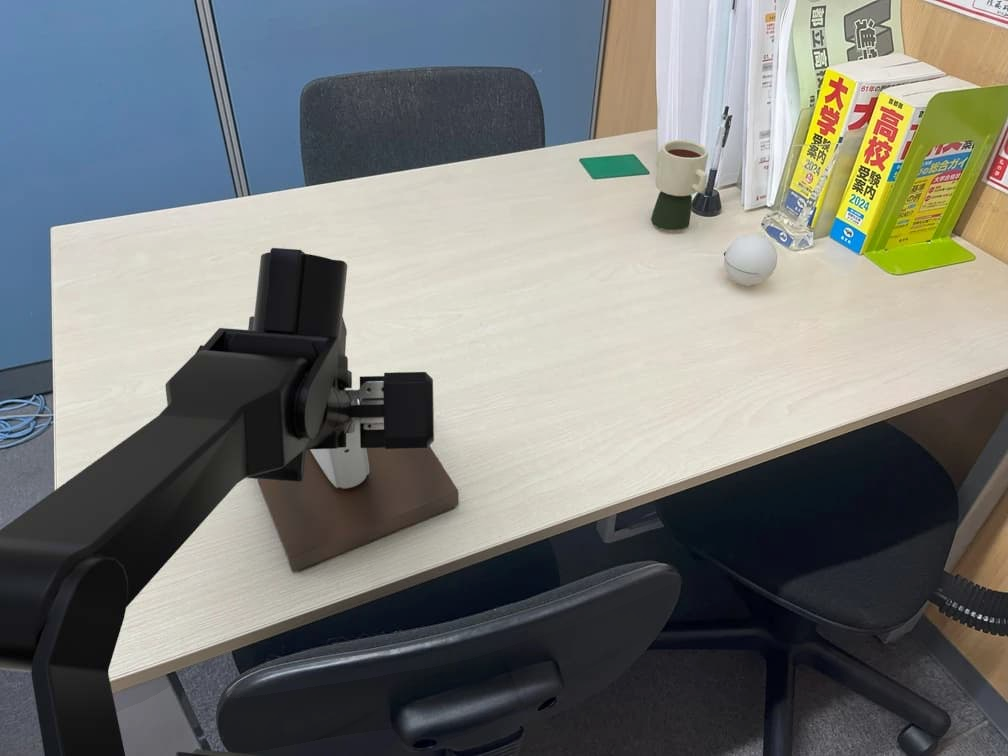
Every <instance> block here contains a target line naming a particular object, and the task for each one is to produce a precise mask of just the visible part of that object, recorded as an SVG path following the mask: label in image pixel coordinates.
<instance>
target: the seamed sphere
mask: <svg viewBox="0 0 1008 756" xmlns="http://www.w3.org/2000/svg"><path fill="white" fill-rule="evenodd" d="M723 256H724V257H723V258H724V259H723V260H724V261H723V266H724V267H722V268H720V269H719V271H721V270H722V269H725V272H726V274H727V275H728V276H729V277H730V278H731V280H732V281H733V282H735V283H736V284H740V285H742V286H749V287H750V286H756V285H759V284H762V283H764V282H766V280H767V279H769V278H771V276H772V275H773V274H774V272H775V270H776V268H777V264H778V253H777V249H776V247H775V245H774V244H773V243H772V242H771V240H770V239H769V238H766V237H765V236H762V235H760V234H756V233H755V234H754V233H753V234H752V233H748V234H744V235H742V236H740V237H737V238H736V239H735V240H733V241H732V242H731V243H730V244H729V245H728V246H727V248H726V250H725V251H724V252H723Z"/></svg>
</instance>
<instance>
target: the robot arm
mask: <svg viewBox="0 0 1008 756" xmlns="http://www.w3.org/2000/svg"><path fill="white" fill-rule="evenodd" d="M347 274H348V264H347V262H346V261H344V260H340V259H333V258H328V257H325V256H320V255H315V254H310V253H305V252H304V250H302V249H296V248H295V249H294V248H280V247H271V248H270V251H269V252H265V253H262V254H261V255H260V261H259V270H258V279H257V286H256V287H257V289H256V290H257V291H256V296H255V297H256V298H255V306H254V315H252V316H250V317H249V318H248V319H249V320H248V327H247V329H241V328H226V327H219V328H217V330H216V331H215V332H214V333H213V335H211V337H210V338H209V339H208V340H207V341H206V342H205V343H204V344H202V345H201V344H200V345H199V347H198V348H197V349H196V352H195V353H194V354H193V355H192V356H191V357H190V358H189V359H188V360H187V361H186V362H185V363H184V364H183V365H182V366H181V367H180V368H179V370H177V371H176V372H175V373H174V374H173V376H171V377H170V378H169V380H168V381H166V383H165V386H164V387H165V396H166V404H167V405H166V407H165V408H163V410H162V411H161V412H160V413H159V415H157V416H155V418H153V419H152V420H150V421H149V422H147V423H146V424H145V425H143V426H142V427H140V428H139V429H138V430H136V431H135V432H134V433H132V434H131V435H130V436H128V437H127V438H125V439H124V440H122V441H121V442H120V443H119V444H116V446H114V447H113V448H112V449H110V450H108V451H107V452H106V453H105V454H103V455H101V456H100V457H99V458H98V459H96V460H95V461H94V462H92V463H91V464H89V465H88V466H86V467H85V468H84V469H82V470H81V471H80V472H78V473H77V474H75V475H73V477H71V478H70V479H68V480H67V481H66V482H65V483H63V484H62V485H60V486H59V487H58V488H56V489H54V490H53V491H52V492H51V493H49V494H48V495H46V496H45V497H43V498H42V499H41V500H40V501H38V502H37V503H35V504H33V505H32V506H31V507H30V508H29V509H27V510H25V511H24V512H23V513H22V514H20V515H19V516H17V517H16V518H14V519H13V520H12V521H10V522H9V523H8V524H6V525H5V526H4V527H2V528H1V529H0V670H1V671H11V672H12V671H13V672H22V673H30V675H31V681H32V687H33V692H34V699H35V705H36V706H35V707H36V711H37V719H38V724H39V729H40V736H41V743H42V749H43V754H44V756H126V752H125V747H124V742H123V738H122V733H121V728H120V727H121V726H120V722H119V717H118V714H117V709H116V703H115V700H114V694H113V689H112V685H111V680H110V679H111V678H110V675H109V669H110V666H111V662H112V659H113V657H114V653H115V649H116V646H117V643H118V640H119V636H120V632H121V630H122V626H123V623H124V621H125V616H126V611H127V608H128V606H129V605H131V603H132V602H133V601H134V599H136V598H137V596H139V594H140V593H141V592H142V591H143V590H144V588H145V587H146V586H147V585H148V584H149V583H150V582H151V581H152V579H153V578H154V577H155V576H156V575H157V574H158V573H159V572H160V571H161V570H162V568H163V567H164V566H165V565H166V564H167V563H168V562H169V560H171V558H172V557H173V556H174V555H175V554H176V553H177V552H178V550H179V549H180V548H181V547H182V546H183V545H184V544H185V543H186V541H187V540H188V539H189V538H190V537H191V536H192V535H193V534H194V533H195V531H196V530H197V529H198V528H199V527H200V526H201V525H202V524H203V523H204V521H205V520H206V519H207V518H208V516H209V515H211V514H212V512H213V511H214V510H215V509H216V508H217V507H218V506H219V504H221V502H223V500H224V499H225V498H226V497H227V495H228V494H229V493H230V492H231V491H233V489H234V488H235V487H236V485H237V484H239V483H241V482H242V481H243V480H244V479H253V480H257V479H265V480H278V481H292V482H301V481H302V480H303V475H304V465H305V455H306V449H337V448H344V447H346V433H353V432H354V430H355V424H354V422H353V421H351V418H359V423H360V448H384V447H385V449H402V448H427V447H428V446H431V445H432V444H433V443H434V441H435V414H434V413H435V412H434V411H435V410H434V406H435V405H434V379H433V377H432V376H431V375H429V373H428V372H427V371H404V372H400V371H399V372H397V371H396V372H383V375H370V376H369V375H367V376H366V375H365V376H359V388H358V389H353V381H352V380H353V371H351V370H349V358H348V356H347V355H346V347H347V345H346V344H347V333H348V332H347V330H348V329H347V326H346V323H345V320H344V305H345V296H346V295H345V294H346V283H347ZM346 388H352V389H353V390H346ZM353 399H354V402H357V400H358V404H359V405H351V403H352V400H353ZM350 422H351V424H350ZM175 756H264V755H262V754H254V753H253V754H252V753H242V752H231V751H222V750H211V749H202V748H196V749H195V750H193V752H187V751H186V752H185V751H177V752H175Z"/></svg>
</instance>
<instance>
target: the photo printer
mask: <svg viewBox="0 0 1008 756" xmlns="http://www.w3.org/2000/svg"><path fill="white" fill-rule="evenodd" d="M346 390H354V389H353V387H352V388H346ZM351 405H359V399H358V400H357V402H354V399H353V400H352V403H351ZM351 421H353V422H354V424H355V430H354V432H353V433H346V447H344V448H337V449H310V451H311V452H312V454H313V456H314V457H315V459H316V461H317V462H318V464H319V465H320V467H321V468H322V470H323V471H324V473H325V475H326V476H327V477H328V479H329V480H330V481H331V483H332V484H333V485H334V486H335V487H336V488H339V487H341V488H351V487H354V486H357V485H359V484H360V483H361V482H363V481H364V480H365V478H366V475H368V474H369V463H368V456H367V450H366V448H360V423H359V418H351ZM350 424H351V422H350Z"/></svg>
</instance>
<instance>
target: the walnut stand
mask: <svg viewBox="0 0 1008 756" xmlns="http://www.w3.org/2000/svg"><path fill="white" fill-rule="evenodd" d="M366 450H367V456H368V463H369V474H368V475H366V478H365V480H364V481H363V482H361V483H360V484H359V485H357V486H354V487H351V488H341V487H339V488H336V487H335V486H334V485H333V484H332V483H331V481H330V480H329V479H328V477H327V476H326V475H325V473H324V471H323V470H322V468H321V467H320V465H319V464H318V462H317V461H316V459H315V457H314V456H313V454H312V452H311V451H310V449H306V455H305V465H304V475H303V480H302V481H301V482H292V481H278V480H265V479H256V480H257V483H258V486H259V489H260V491H261V493H262V497H263V499H264V502H265V504H266V507H267V510H268V512H269V515H270V517H271V520H272V523H273V526H274V529H275V531H276V533H277V536H278V539H279V541H280V544H281V547H282V550H283V552H284V555H285V558H286V560H287V563H288V565H289V568H290V571H291V573H294V572H297V573H300V572H302V571H305V570H308V569H311V568H313V567H315V566H317V565H320V564H322V563H325V562H327V561H329V560H332V559H334V558H337V557H339V556H342V555H344V554H347V553H349V552H351V551H354V550H356V549H359V548H362V547H364V546H366V545H369V544H371V543H373V542H377V541H379V540H382V539H383V538H386V537H388V536H391V535H393V534H396V533H398V532H401V531H403V530H405V529H409V528H410V527H413V526H416V525H418V524H421V523H422V522H425V521H428V520H429V519H430V520H431V519H433V518H435V517H437V516H440V515H443V514H445V513H447V512H450V511H452V510H455V508H456V507H457V506H459V505H460V501H459V499H460V498H459V497H460V495H459V489H458V488H457V486H456V485H455V483H454V482H453V480H452V479H451V476H450V475H449V474H448V472H447V470H446V469H445V468H444V466H443V464H442V463H441V461H440V460H439V458H438V456H437V455H436V453H435V452H434V450H433V449H432V447H431V445H429V446H428V447H427V448H402V449H385V447H384V448H366Z"/></svg>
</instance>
